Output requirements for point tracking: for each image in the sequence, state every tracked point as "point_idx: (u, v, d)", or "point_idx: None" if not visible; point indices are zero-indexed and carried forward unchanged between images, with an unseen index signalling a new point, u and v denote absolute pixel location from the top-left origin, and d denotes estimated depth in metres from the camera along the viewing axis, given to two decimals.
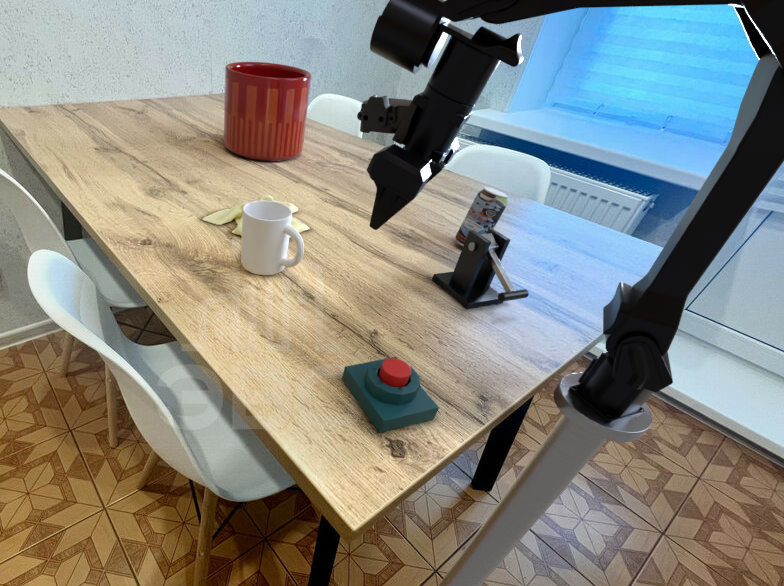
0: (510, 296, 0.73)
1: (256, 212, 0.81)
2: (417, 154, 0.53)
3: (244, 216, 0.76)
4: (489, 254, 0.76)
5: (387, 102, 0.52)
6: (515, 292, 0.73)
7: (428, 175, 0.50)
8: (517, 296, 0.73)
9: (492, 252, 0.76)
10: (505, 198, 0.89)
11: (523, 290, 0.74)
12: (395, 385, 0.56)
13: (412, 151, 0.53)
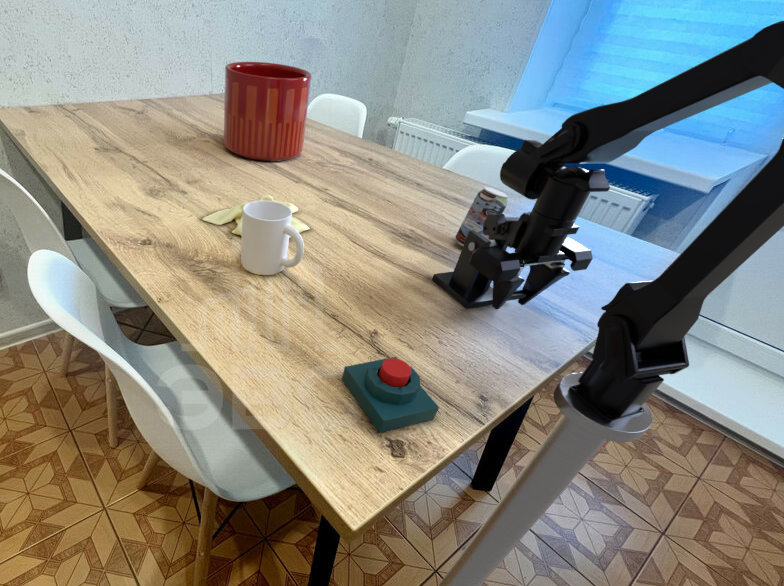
0: None
1: (256, 212, 0.81)
2: (520, 255, 0.68)
3: (244, 216, 0.76)
4: None
5: (502, 218, 0.70)
6: (515, 292, 0.73)
7: (514, 268, 0.65)
8: (517, 296, 0.73)
9: None
10: (505, 198, 0.89)
11: (523, 290, 0.74)
12: (395, 385, 0.56)
13: (517, 253, 0.68)
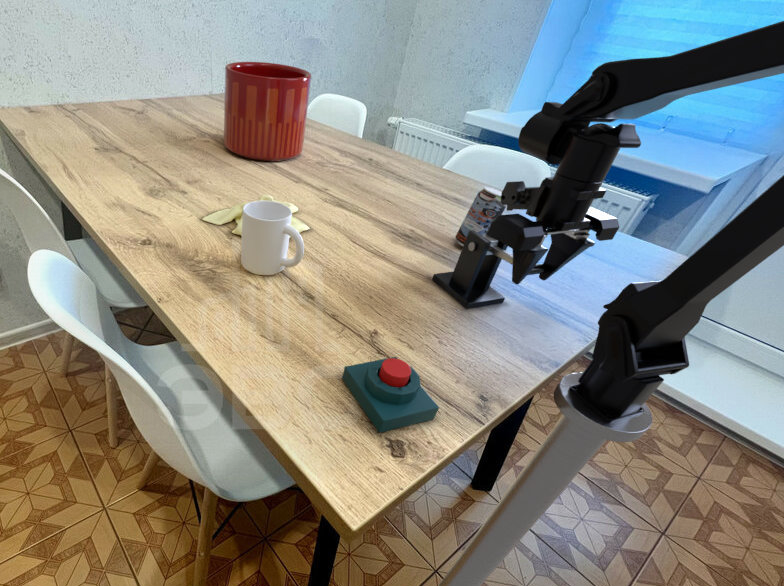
0: None
1: (256, 212, 0.81)
2: (543, 223, 0.64)
3: (244, 216, 0.76)
4: (492, 248, 0.75)
5: (522, 185, 0.66)
6: None
7: (537, 235, 0.61)
8: (536, 268, 0.69)
9: (494, 246, 0.76)
10: None
11: (540, 264, 0.70)
12: (395, 385, 0.56)
13: (539, 221, 0.64)
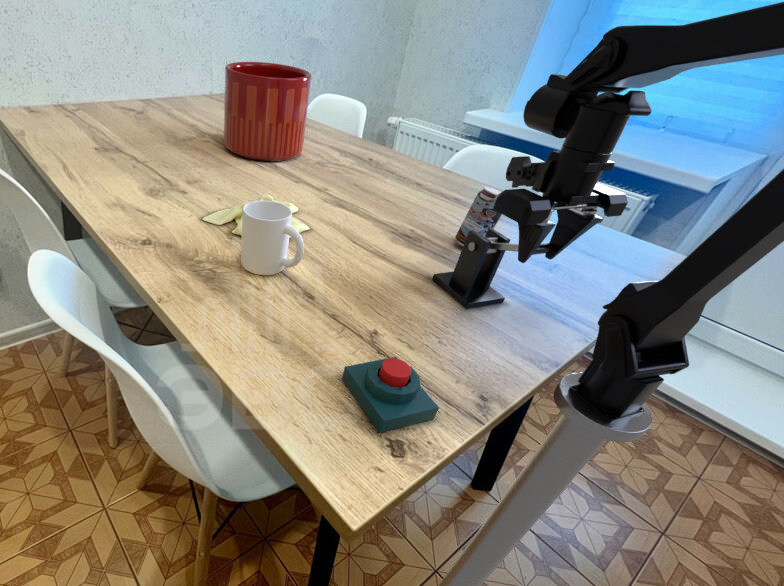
0: None
1: (256, 212, 0.81)
2: (550, 198, 0.62)
3: (244, 216, 0.76)
4: (492, 244, 0.75)
5: (528, 160, 0.64)
6: None
7: (545, 208, 0.59)
8: (541, 246, 0.68)
9: (494, 242, 0.75)
10: None
11: (545, 243, 0.69)
12: (395, 385, 0.56)
13: (546, 196, 0.62)
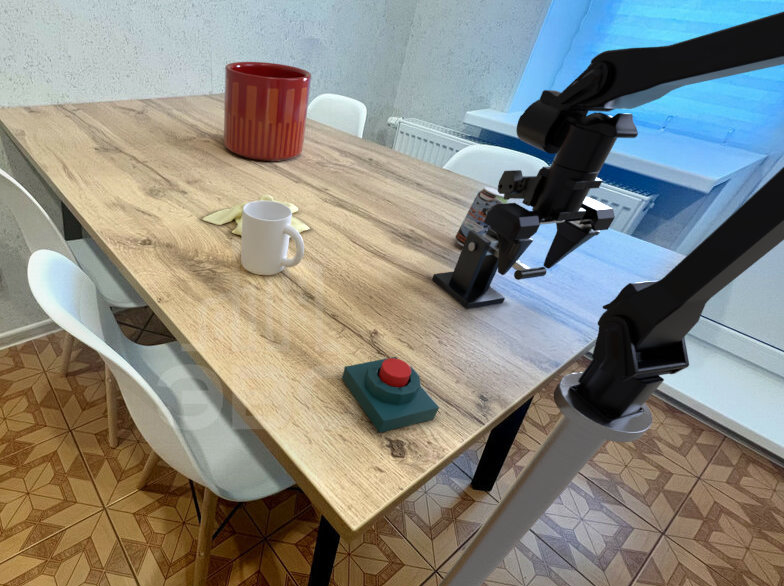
0: (527, 271, 0.69)
1: (256, 212, 0.81)
2: (539, 212, 0.64)
3: (244, 216, 0.76)
4: (492, 249, 0.76)
5: (519, 174, 0.66)
6: (531, 268, 0.70)
7: (533, 224, 0.61)
8: (534, 271, 0.70)
9: (494, 247, 0.76)
10: None
11: (539, 267, 0.71)
12: (395, 385, 0.56)
13: (535, 210, 0.64)
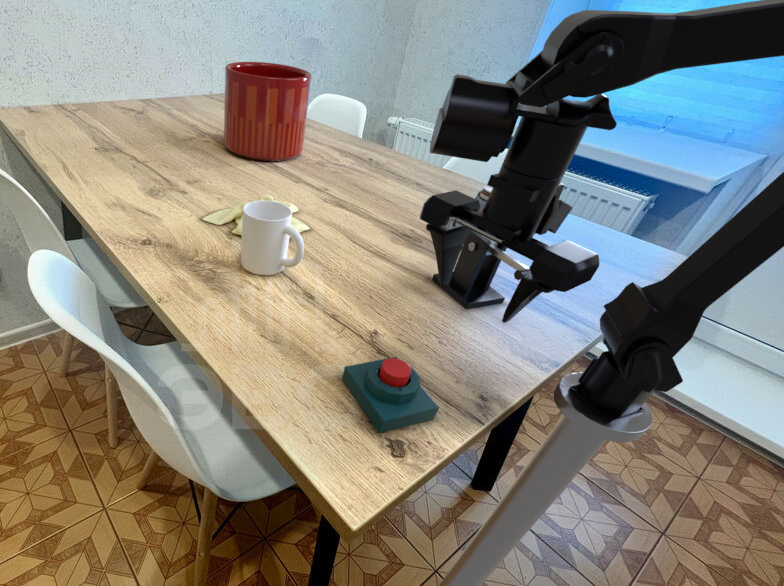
0: (527, 271, 0.69)
1: (256, 212, 0.81)
2: None
3: (244, 216, 0.76)
4: (492, 249, 0.76)
5: None
6: None
7: (440, 210, 0.53)
8: None
9: (494, 247, 0.76)
10: None
11: None
12: (395, 385, 0.56)
13: None
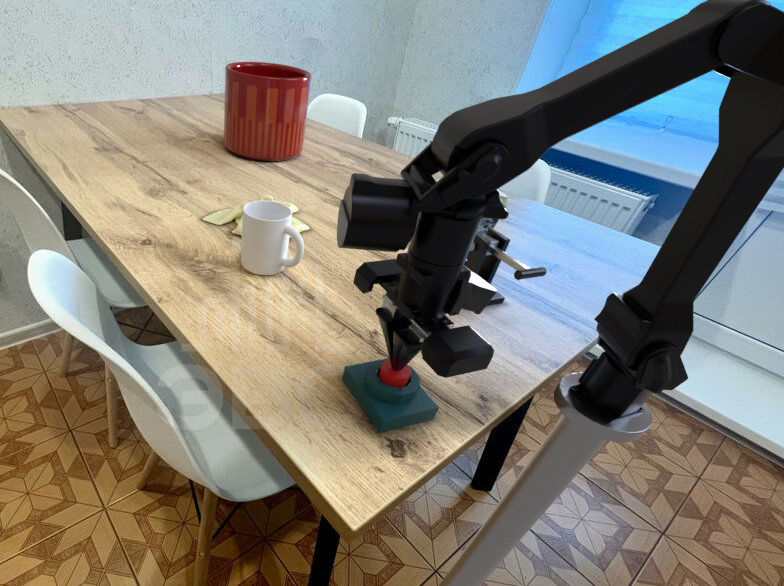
0: (527, 271, 0.69)
1: (256, 212, 0.81)
2: None
3: (244, 216, 0.76)
4: (492, 249, 0.76)
5: None
6: (531, 268, 0.70)
7: (366, 278, 0.54)
8: (534, 271, 0.70)
9: (494, 247, 0.76)
10: (505, 198, 0.89)
11: (539, 267, 0.71)
12: (394, 386, 0.56)
13: None
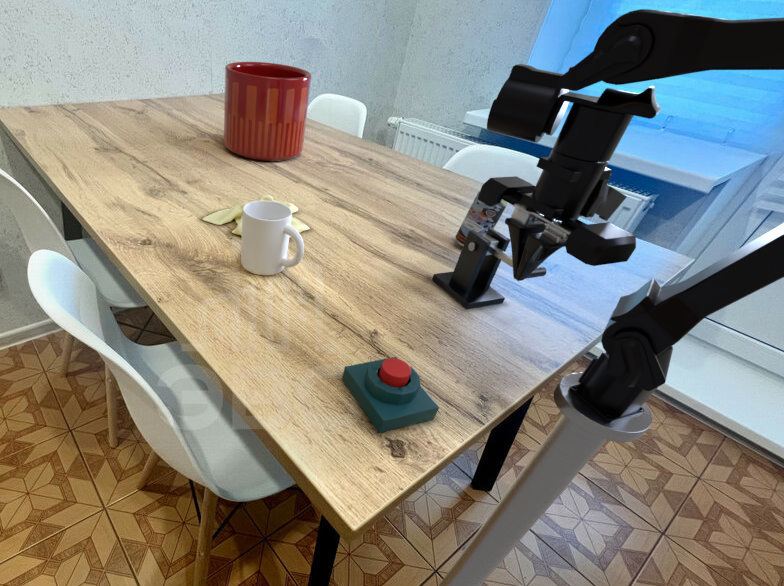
0: None
1: (256, 212, 0.81)
2: None
3: (244, 216, 0.76)
4: (492, 249, 0.76)
5: None
6: None
7: (495, 190, 0.58)
8: (534, 271, 0.70)
9: (494, 247, 0.76)
10: None
11: (539, 267, 0.71)
12: (395, 385, 0.56)
13: None
